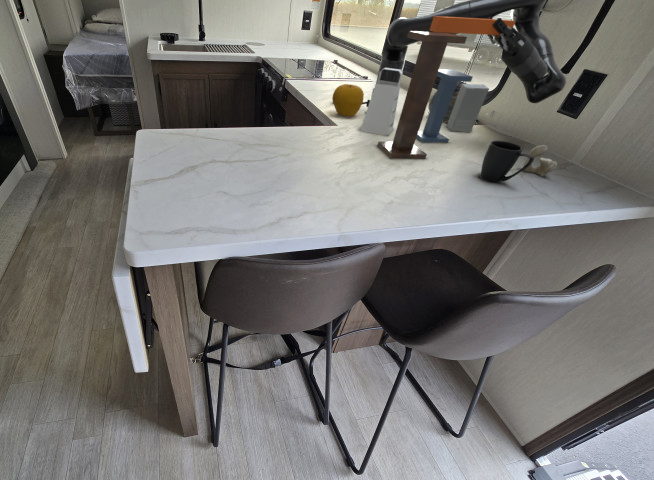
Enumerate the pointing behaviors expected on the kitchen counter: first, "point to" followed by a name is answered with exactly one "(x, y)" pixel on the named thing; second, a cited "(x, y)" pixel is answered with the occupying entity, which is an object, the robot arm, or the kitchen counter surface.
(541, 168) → the bone
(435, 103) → the lower shelf
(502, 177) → the mug
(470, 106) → the cosmetic box
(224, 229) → the kitchen counter surface
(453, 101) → the bowl
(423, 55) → the tall stand
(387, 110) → the grater
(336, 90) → the apple
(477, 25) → the orange wooden plank
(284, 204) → the kitchen counter surface
